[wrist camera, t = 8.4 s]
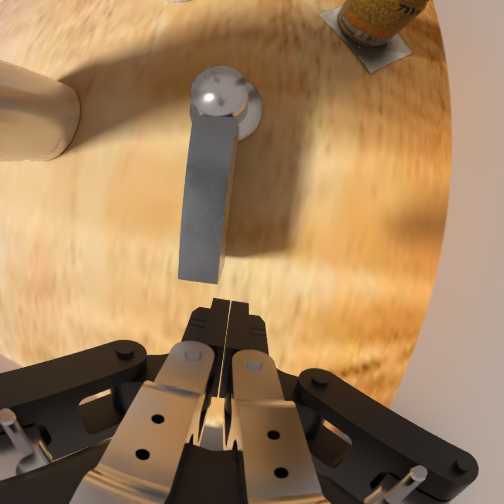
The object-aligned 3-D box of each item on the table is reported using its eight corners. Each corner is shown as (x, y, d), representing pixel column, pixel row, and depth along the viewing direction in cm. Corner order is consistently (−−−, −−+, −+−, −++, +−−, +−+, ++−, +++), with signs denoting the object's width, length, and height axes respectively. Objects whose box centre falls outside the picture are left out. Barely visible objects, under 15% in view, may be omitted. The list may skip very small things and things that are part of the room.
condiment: (364, -2, 19) (405, -58, 8) (411, 53, 21) (474, 13, 10) (317, 15, 21) (348, -54, 9) (369, 74, 22) (431, 26, 11)
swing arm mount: (179, 122, 24) (176, 119, 23) (218, 69, 22) (217, 64, 21) (235, 156, 25) (235, 155, 23) (275, 102, 23) (276, 99, 22)
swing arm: (206, 85, 21) (195, 64, 17) (251, 88, 22) (250, 67, 17) (186, 259, 25) (171, 278, 21) (229, 265, 26) (224, 285, 21)
